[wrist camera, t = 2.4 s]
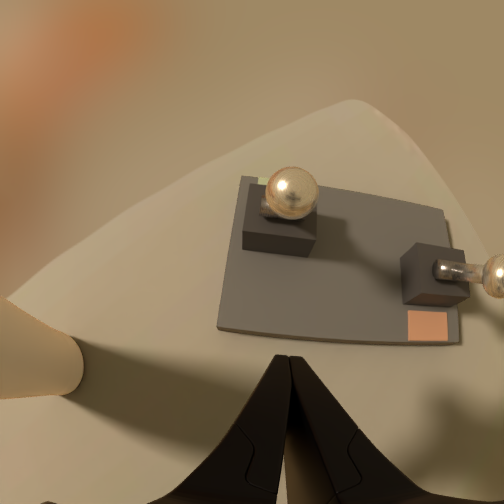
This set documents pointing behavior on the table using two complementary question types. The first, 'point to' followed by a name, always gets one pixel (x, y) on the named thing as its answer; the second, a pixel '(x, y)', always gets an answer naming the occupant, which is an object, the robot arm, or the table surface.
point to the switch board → (341, 271)
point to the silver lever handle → (474, 273)
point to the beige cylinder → (35, 356)
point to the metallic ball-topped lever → (289, 194)
